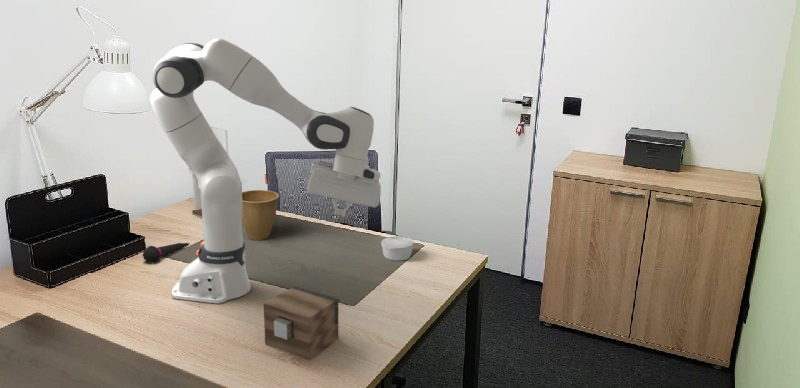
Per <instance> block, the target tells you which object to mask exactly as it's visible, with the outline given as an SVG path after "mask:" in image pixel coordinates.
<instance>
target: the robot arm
mask: <svg viewBox="0 0 800 388" xmlns="http://www.w3.org/2000/svg"><path fill="white" fill-rule="evenodd" d="M152 81H153V84H154V86H155V89H154V90H153V91H152V93H151V95H149V96H150V97H149V102H150V105H151V108H152V110H153V113H154V115H155V117H156V119H157V121H158V123H159V124H160V126H161V129H162V130H163V131H164V133H165V135H166V137H167V138H168V139H169V141H170V143H171V144H172V146H173V148H174V149H175V151H176V152H177V153H178V155H179V157H180V158H181V160H183V161H184V163H185V164H186V165H187V166H188V169H189V168H190V169H191V171H192V172H193V173H194V175H195V176H196V178H197V179H198V181H199V184H200V190H201V205H202V219H201V220H202V232H203V233H202V235H203V241H202V242H201V243H200V245H199V247H198V248H197V251H196V257H197V258H196V259H194V260H192V261H191V262H190V263H188V264H187V266H185V268H183V270H182V271H181V273H180V276H179V281H177V282H176V283H175V285H174V286H173V287H172V290H171V297H172V299H177V300H184V301H192V302H193V301H194V302H201V303H209V304H210V303H211V304H218V305H219V304H222V303H225V302H226V301H230V300H232V299H237V298H239V297H242V296H245V295H246V294H247V293H249V292H250V291H251V289H252V286H251V285H252V284H251V282H250V281H249V277H248V272H247V268H246V267H247V266H246V259H247V254H246V251H247V250H246V245H245V242H244V237H243V235H244V233H243V222H242V192H243V185H242V184H243V183H242V181H241V176H240V174H239V172H238V168H237V167H236V164H235V163H234V161H233V160H232V159H231V157H230V155H229V153H228V154H227V152H226V151H225V149H224V148H223V146H222V145H221V143H220V142H219V140H218V139H217V137H216V136H215V134H214V132H213V131H212V129H211V127H212V126H211V127H210V123H209V122H208V120H207V119H206V117H205V116H204V114H203V112H202V110H201V108H200V107H199V105H198V104H197V102H196V100H195V98H194V91H196V90H197V89H198V88H199V87H201V86H202V85H203V84H204V82H207V81H210V82H215V83H217V84H218V85H220V86H222V87H223V88H225V90H227V91H229V92H230V93H232V94H233V95H234V96H236V97H238V98H240V99H242V100H244V101H246V102H248V103H250V104H252V105H255V106H260V107H264V108H267V109H269V110H272V111H274V112H275V113H277V114H278V115H280V116H281V117H283V118H285V119H286V120H287V121H289V122H290V123H292V124H293V125H294V126H296V127H297V128H299V130H300V131H302V133H303V135H304V137H305V139H306V140H307V142H308V143H309V144H311V145H312V146H313V147H314V148H315V149H318V150H320V151H321V150H323V151H326V150H327V151H328V150H335V157H334V161H333V163H331V162H326V161H322V160H317V161H314V162H313V163H312V164H311V166H310V170H309V171H310V178H309V180H308V184H307V187H306V190H307V192H308V193H309V194H313V195H317V196H322V197H326V198H330V199H332V205H333V208H334V212H333V215H334V216H335V217H339V218H340V217H341V218H345V216H346V211H348V209H349V208H350V207H351V206H352V204H358V205H360V206H366V207H369V208H375V209H376V208H377V207H378V206H379V205H380V201H381V195H382V194H381V192H382V191H381V190H382V185H381V182H380V181H379V180H380V178H381V175H382V174H381V172H379V171H378V170H376V169H375V168H373V167H372V166H369V165H368V152H369V149H370V147H371V145H372V139H373V135H374V127H375V122H374V117H373V116H372V115H371V114H370V113H369V112H367V111H366V110H363V109H360V108H357V107H354V106H349V107H346V108H345V109H341V110H337V111H334V112H328V113H326V112H321V111H317V110H315V109H312V108H310V107H309V106H307V105H306V104H305V103H303V102H301V101H300V100H299V99H297V97H295V96H294V95H292V94H291V93H290V92H288V91H287V90H286V89H285V88H284V87H283V85H282V84H281V83H280V81H279V80H278V78H277V77H276V76H275V74H274V73H273V72H272V71H271V70H270V69H269V68H268V67H267V66H266V65H265V64H264V63H263V62H262V61H260V59H257V58H256V57H255V56H254V55H253V54H250V53H249V52H248V51H246V50H244V49H243V48H241V47H239V46H238V45H236V44H234V43H232V42H230V41H227V40H225V39H223V38H215V39H211V40H210V41H208V43H206V45H205V46H204V45H203V44H200V43H198V42H186V43H182V44H180V45H178V46H177V47H175V48H173V49H171V50H170V51H169V52H167V54H166V55H164V57H162V58H161V59H159V60H158V61H157V63H156V64H155V66H154V69H153V71H152ZM339 201H344V202H345V204H344V205H345V208H344V209H341V208H339V207H338V203H339Z"/></svg>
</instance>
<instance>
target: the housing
mask: <svg viewBox="0 0 800 388" xmlns="http://www.w3.org/2000/svg"><path fill="white" fill-rule="evenodd" d="M279 317H284V318H287V319H290V320H293V329H294V336H292V337H291V338H289V339H288V340H286V339H283V338H280V337H278V336H275V335H274V320H276V319H277V318H279ZM263 323H264V324H263V325H264V326H263V327H264V345H266V346H269V347H271V348H274V349H277V350H278V351H279V350H280V351H281V352H282V351H283V352H285V353H288V354H290V355H294V356H296V357H299V358H301V359H304V360H307V361H311V360H312V359H314V358H315V357H316V356H318V355H319V354H320V353H322V352H323V351H324V350H326V349H327V348H329V347H330V346H331V345H333V344H334V343H335V342H336V341H338V340H339V299H338V298H336V297H334V296H333V297H332V296H329V295H325V294H323V293H319V292H317V291H313V290H309V289H306V288H303V287H299V286H296V285H294V286H292V287H290V288H289V289H287V290H286V291H283V292H282V293H279V294H278V295H276V296H274V297H273V298H271V299H269V300H267V301H265V302H263Z"/></svg>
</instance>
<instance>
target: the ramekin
mask: <svg viewBox="0 0 800 388" xmlns="http://www.w3.org/2000/svg"><path fill="white" fill-rule="evenodd" d="M380 243H381V244H380V245H381V247H382V255H383V256H384V257H385V259H387V260H390V261H397V262H399V261H401V262H402V261H406V260H408V259H410V258H411V255H412V252H413V249H414V246H415V245H414V244H415V243H414V240H412V239H411V238H408V237H404V236H389V237H385V238H383V239H382V240H381V242H380Z"/></svg>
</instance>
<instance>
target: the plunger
mask: <svg viewBox="0 0 800 388" xmlns="http://www.w3.org/2000/svg"><path fill="white" fill-rule="evenodd" d="M274 335H275V336H278V337H280V338H283V339H286V340H288V339H289V338H291V337H292V336H294V329H293V320H290V319H287V318H284V317H279V318H277V319H276V320H274Z"/></svg>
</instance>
